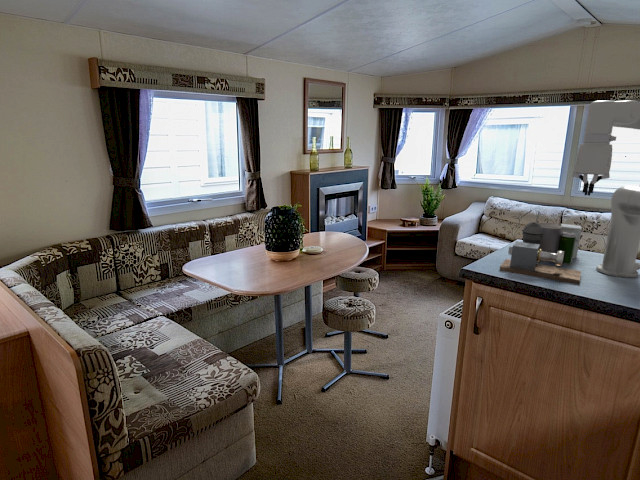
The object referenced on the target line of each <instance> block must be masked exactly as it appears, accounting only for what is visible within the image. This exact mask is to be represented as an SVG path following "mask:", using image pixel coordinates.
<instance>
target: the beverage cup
mask: <svg viewBox="0 0 640 480" xmlns="http://www.w3.org/2000/svg"><path fill="white" fill-rule="evenodd" d="M540 212H541V211H538V212H537V216H536V220H535V221H534V222H529V223H527V224H526V225H525V226H524V227H523V229H522V242H525V243H533V244H540V240H541V238H542V235H543V229H542V227H541V226H540V225H539V224H538V223H539V222H538V219H539V217H540V214H541V213H540Z"/></svg>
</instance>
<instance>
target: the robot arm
mask: <svg viewBox="0 0 640 480" xmlns="http://www.w3.org/2000/svg"><path fill="white" fill-rule="evenodd" d="M586 116H587V117H586V122H585V128H584V135H583V142H582V143H580V144H579V147H578V149H577V153H576V157H575V162H574V166H573V167H574V168H573V172H572V174H571V176H572V177H574V178H577V179H579V180H581V182H583V187H582V193H584V196H591V194H593V192H594V189H595V184H597V182H599V181H600V180H606V179H607V180H608V179H609V178H611V177H610V170H611V165H612V160H613V159H612V157H613V144H611V142H615V141H617V136H614V135H612V133H613V128H625V129H633V130H640V101H637V100H635V99H633V100H631V99H628V100H626V99H625V100H616V101H615V100H609V99H607V100H595V101H591V102H590V104H589V105H588V109H587V115H586ZM588 175H593V176H592V179H591V181H590V182H589V180H588V179H589V178H588ZM610 204H611V205H610V206H611V207H610V209H611V216H610V223H609V228H608V232H607V233H608V234H607V239H606V243H605V249H604V254H603V259H602V263H600V264H598V265H596V269H595V270H596V271H598V272H600V273H602V274H605V275H609V276H613V277H618V278H619V277H620V278H630V279H633V278H637V277H638V276H639V272H638V271H639V270H640V262H637V255H638V250H639V248H640V186H638V185H637V186H636V185H624V186H621V187H618V188H617V189H616V190H615V191H613V194H612V196H611V202H610Z"/></svg>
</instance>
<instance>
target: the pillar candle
mask: <svg viewBox="0 0 640 480" xmlns="http://www.w3.org/2000/svg"><path fill="white" fill-rule="evenodd" d="M537 223H538V224H539V225H540V226H541V227H542V229H543V235H542V238H541V240H540V249H542V251H543V252H550V253H557V251H558V245H559V239H560V234H561V230H562V227H561V226H560V224H555V223H550V222H549V221H548V222H537ZM541 261H542V262H548V261H547V260H540V262H541Z"/></svg>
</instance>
